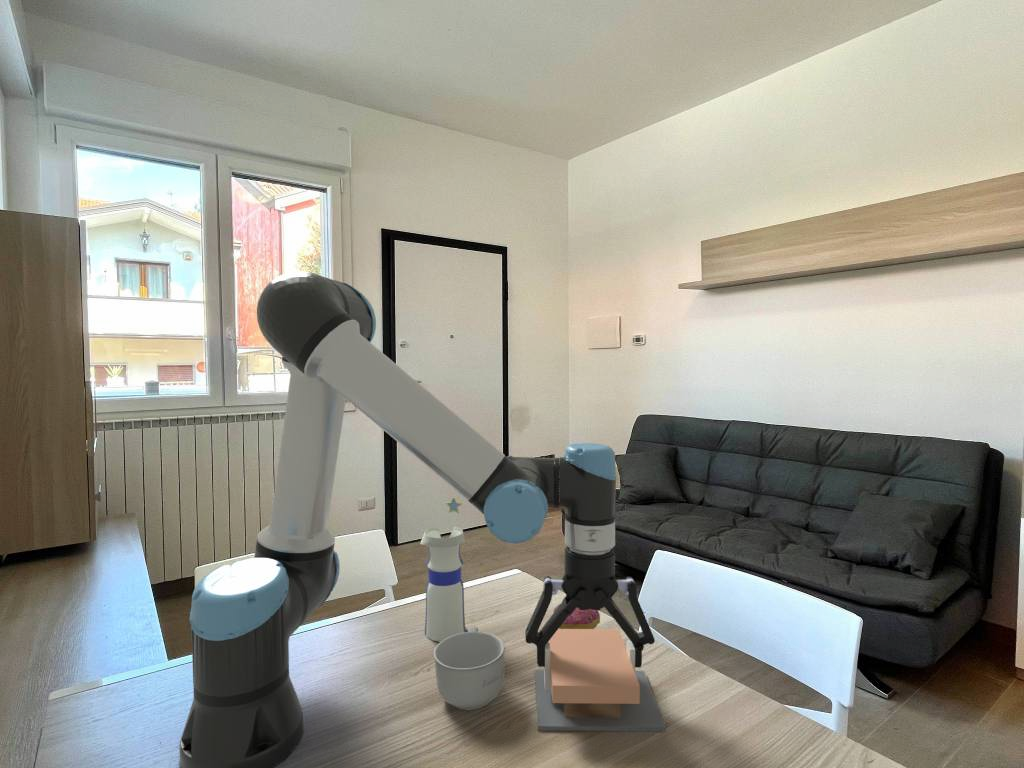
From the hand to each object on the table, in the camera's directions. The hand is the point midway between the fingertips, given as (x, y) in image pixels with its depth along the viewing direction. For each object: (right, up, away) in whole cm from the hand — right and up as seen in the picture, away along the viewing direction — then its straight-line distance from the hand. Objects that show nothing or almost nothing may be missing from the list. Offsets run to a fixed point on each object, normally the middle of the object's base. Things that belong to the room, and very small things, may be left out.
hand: (588, 686), depth 85 cm
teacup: (-18, -2, +2) cm, 18 cm away
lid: (0, +2, 0) cm, 2 cm away
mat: (+1, -2, 0) cm, 2 cm away
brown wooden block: (0, -2, 0) cm, 2 cm away
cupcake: (0, -1, +18) cm, 18 cm away
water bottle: (-25, -1, +21) cm, 33 cm away
